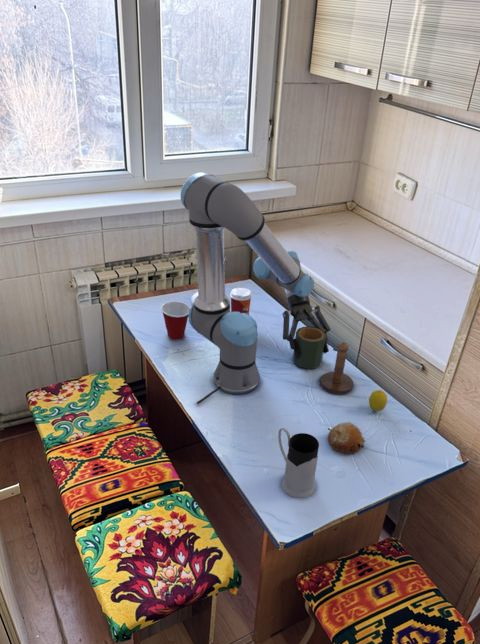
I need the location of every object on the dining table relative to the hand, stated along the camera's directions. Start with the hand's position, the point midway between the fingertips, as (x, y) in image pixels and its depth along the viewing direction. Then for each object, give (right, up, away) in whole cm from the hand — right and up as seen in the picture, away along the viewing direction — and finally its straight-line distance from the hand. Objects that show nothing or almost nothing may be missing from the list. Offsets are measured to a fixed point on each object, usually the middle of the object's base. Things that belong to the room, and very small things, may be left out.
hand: (312, 355), depth 194 cm
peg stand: (+8, -10, -6) cm, 14 cm away
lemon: (+19, -18, -16) cm, 30 cm away
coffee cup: (-26, +11, +22) cm, 36 cm away
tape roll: (-1, -2, +4) cm, 5 cm away
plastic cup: (-49, +7, +13) cm, 51 cm away
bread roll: (+7, -26, -30) cm, 40 cm away
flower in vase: (-42, +21, +35) cm, 58 cm away
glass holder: (-9, -33, -43) cm, 55 cm away
